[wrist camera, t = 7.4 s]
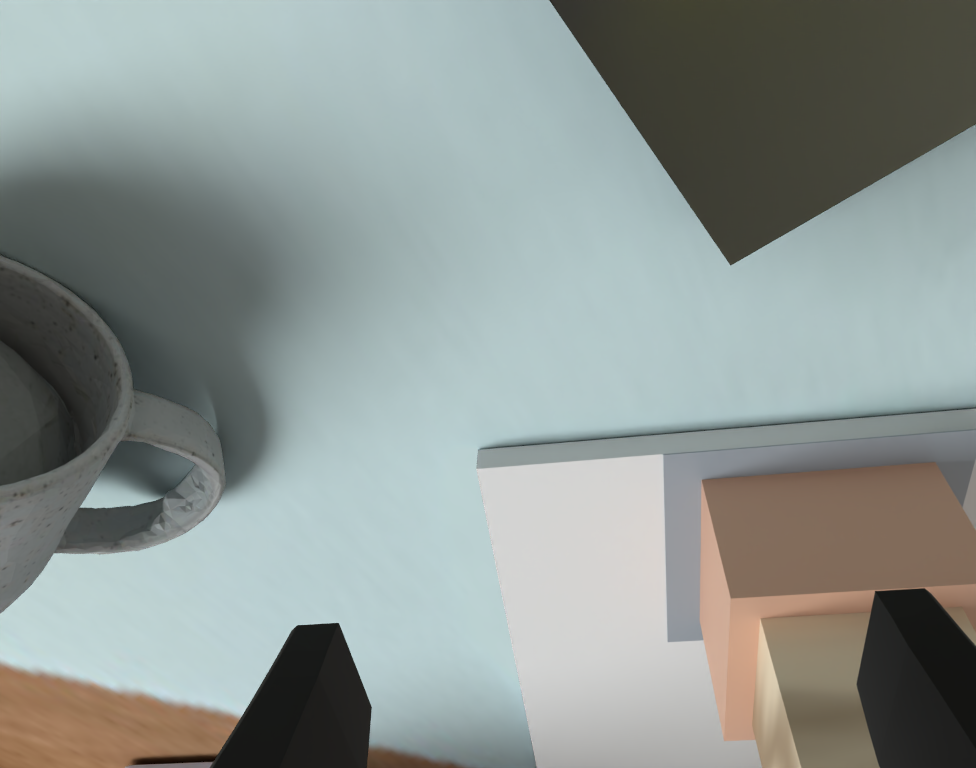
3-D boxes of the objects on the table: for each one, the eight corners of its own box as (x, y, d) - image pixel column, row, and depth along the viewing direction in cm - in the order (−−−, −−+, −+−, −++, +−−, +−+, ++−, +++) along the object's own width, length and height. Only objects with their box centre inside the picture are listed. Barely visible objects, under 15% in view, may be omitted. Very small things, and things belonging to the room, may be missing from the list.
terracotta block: (900, 609, 25) (955, 731, 22) (699, 620, 26) (724, 741, 23) (935, 462, 22) (1006, 582, 18) (701, 479, 22) (730, 598, 19)
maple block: (929, 717, 22) (1010, 908, 18) (752, 725, 22) (795, 911, 18) (962, 606, 19) (1065, 802, 15) (760, 618, 19) (813, 811, 16)
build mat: (904, 770, 32) (912, 792, 31) (543, 783, 34) (543, 804, 33) (1010, 405, 21) (1025, 426, 21) (477, 449, 23) (476, 469, 22)
